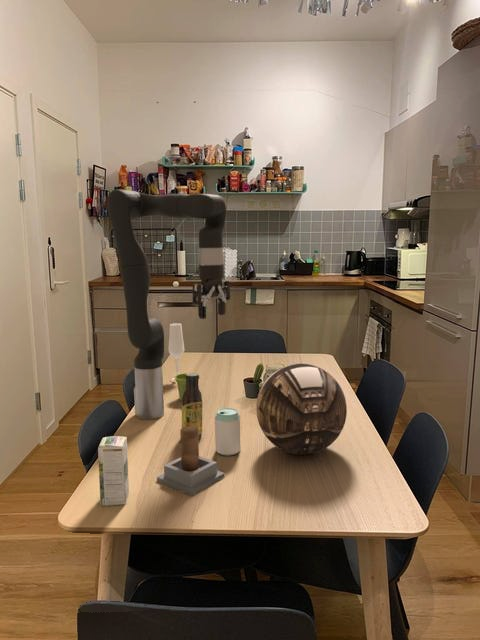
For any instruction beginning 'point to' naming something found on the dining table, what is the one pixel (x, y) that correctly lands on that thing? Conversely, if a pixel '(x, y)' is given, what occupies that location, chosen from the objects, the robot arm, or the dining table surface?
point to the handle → (189, 449)
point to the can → (227, 431)
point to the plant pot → (181, 383)
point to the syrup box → (113, 470)
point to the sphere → (301, 409)
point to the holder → (190, 476)
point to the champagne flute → (176, 343)
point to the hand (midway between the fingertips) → (212, 316)
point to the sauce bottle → (192, 404)
